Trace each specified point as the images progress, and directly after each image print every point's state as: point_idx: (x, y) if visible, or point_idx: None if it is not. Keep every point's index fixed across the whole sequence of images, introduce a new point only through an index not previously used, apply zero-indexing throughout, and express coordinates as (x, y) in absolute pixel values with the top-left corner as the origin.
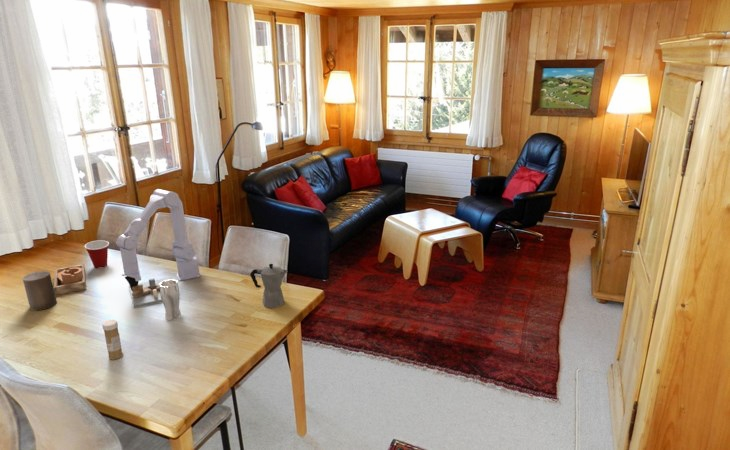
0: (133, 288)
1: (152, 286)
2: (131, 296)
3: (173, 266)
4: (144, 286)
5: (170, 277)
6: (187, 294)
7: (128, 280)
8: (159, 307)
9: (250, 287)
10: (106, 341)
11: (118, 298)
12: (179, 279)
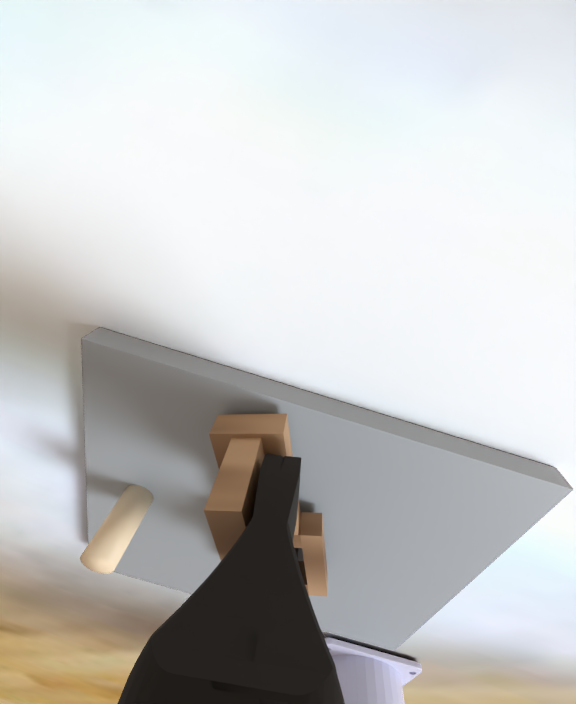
0: (210, 500)
1: None
2: (300, 405)
3: (554, 700)
4: (407, 537)
5: (390, 648)
6: (126, 580)
7: (146, 646)
8: (24, 442)
9: (59, 676)
10: None
11: (426, 314)
12: (332, 645)
